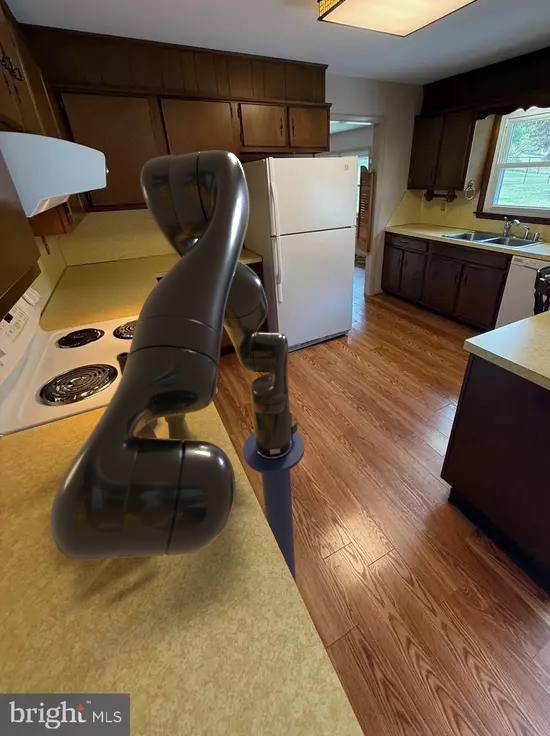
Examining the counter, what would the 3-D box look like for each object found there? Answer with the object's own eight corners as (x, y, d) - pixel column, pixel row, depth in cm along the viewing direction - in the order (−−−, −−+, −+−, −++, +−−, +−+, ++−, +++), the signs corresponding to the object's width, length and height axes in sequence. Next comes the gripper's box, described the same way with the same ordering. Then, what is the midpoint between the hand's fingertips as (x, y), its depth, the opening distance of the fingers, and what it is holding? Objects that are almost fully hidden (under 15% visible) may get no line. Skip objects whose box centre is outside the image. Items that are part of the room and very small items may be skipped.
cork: (192, 431, 93) (185, 400, 89) (193, 446, 88) (186, 413, 83) (169, 437, 91) (161, 405, 87) (169, 452, 86) (161, 419, 82)
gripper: (195, 434, 40) (180, 450, 54) (65, 492, 33) (88, 492, 47) (218, 495, 38) (197, 495, 52) (87, 569, 31) (104, 546, 45)
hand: (145, 494), depth 50 cm, fingers closed
